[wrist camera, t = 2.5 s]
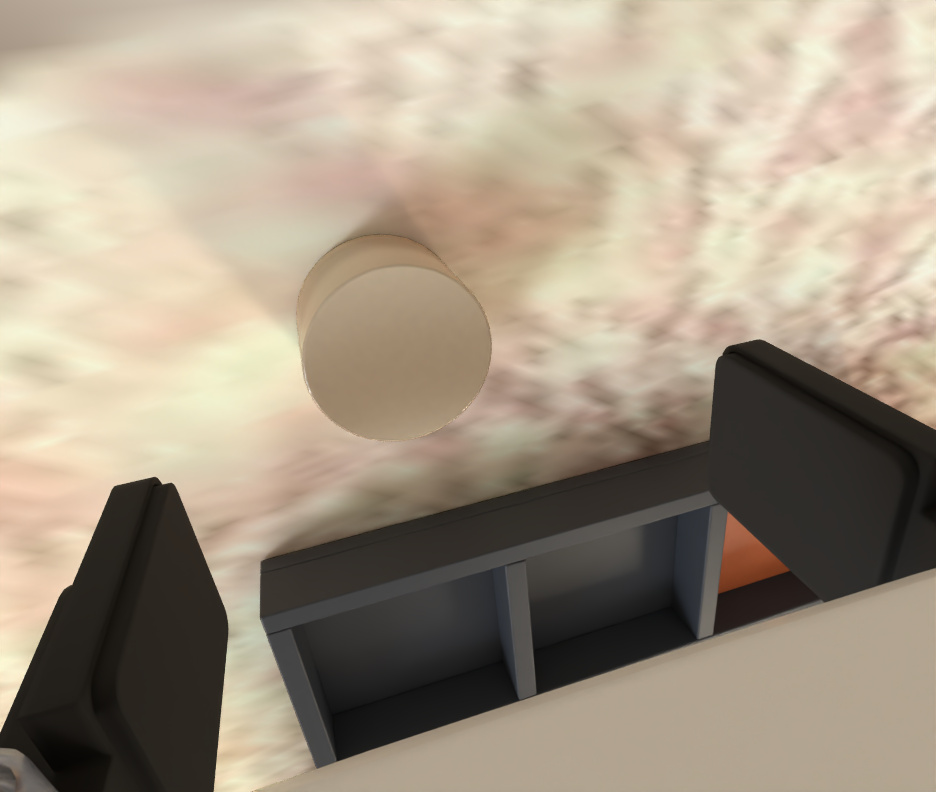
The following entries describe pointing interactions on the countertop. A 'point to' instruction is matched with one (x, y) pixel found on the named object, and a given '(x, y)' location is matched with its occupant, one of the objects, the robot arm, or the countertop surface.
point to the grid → (512, 600)
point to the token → (390, 339)
